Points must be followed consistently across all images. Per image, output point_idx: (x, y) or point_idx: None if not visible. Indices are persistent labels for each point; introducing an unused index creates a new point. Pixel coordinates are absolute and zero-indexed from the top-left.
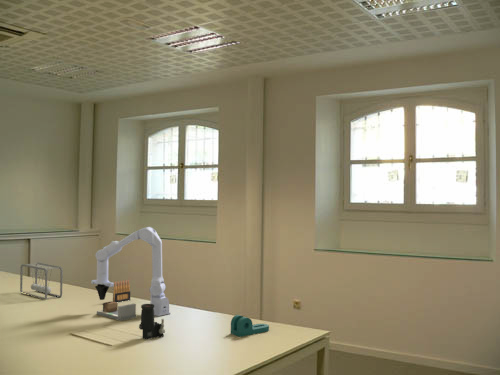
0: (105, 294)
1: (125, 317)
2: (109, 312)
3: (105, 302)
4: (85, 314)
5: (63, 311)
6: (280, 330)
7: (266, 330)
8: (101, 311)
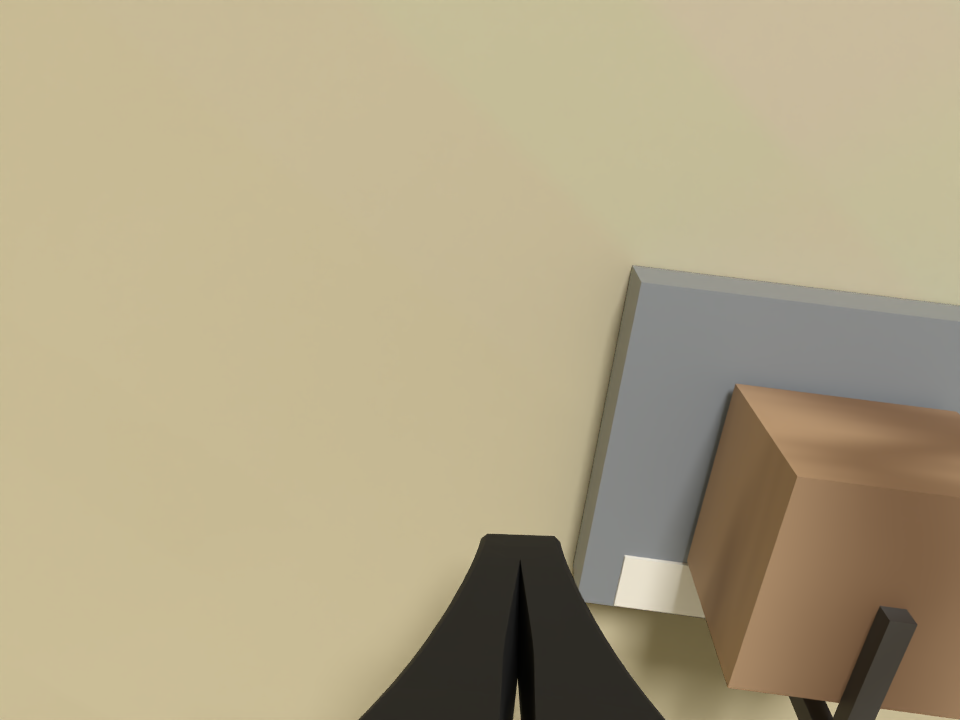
0: (590, 630)
1: None
2: None
3: (758, 648)
4: None
5: (18, 679)
6: None
7: None
8: (680, 587)
